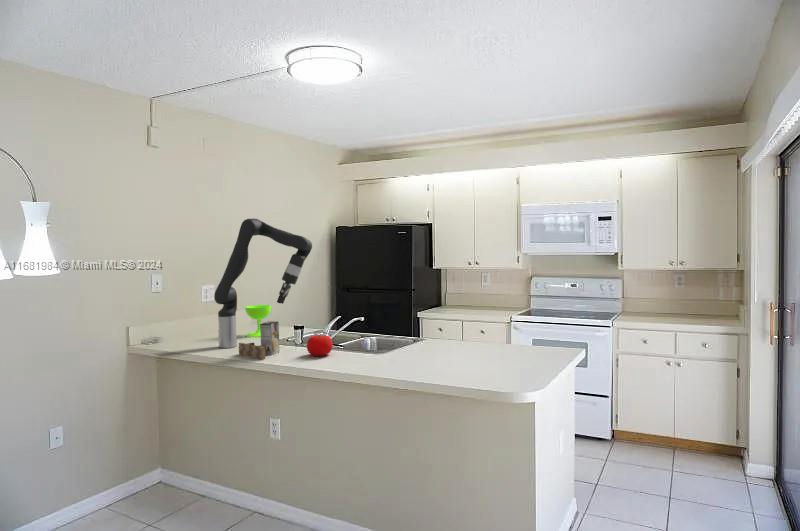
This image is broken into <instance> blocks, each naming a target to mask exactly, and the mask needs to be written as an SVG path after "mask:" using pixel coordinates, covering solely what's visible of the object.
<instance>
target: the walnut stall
mask: <svg viewBox="0 0 800 531" xmlns="http://www.w3.org/2000/svg"><path fill="white" fill-rule="evenodd" d="M238 355H239V356H245V357H249V358H253V359H257V358H258V359H257V360H262V359H265V360H266V357H267V355H266V345H261V344H260V345H255V342H248V343H245V342H238ZM265 356H266V357H265Z"/></svg>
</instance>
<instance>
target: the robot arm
mask: <svg viewBox="0 0 800 531" xmlns="http://www.w3.org/2000/svg"><path fill="white" fill-rule="evenodd" d="M253 236H255V237H256V236H263V237H265V238H266V237H267V238H270V239H271V240H273V241H274V242H276V243H278V244H280V245H283V246H286V247H291V248H294V249H297V250H296V252H295V253H293V254H292V255H291V257H290V260H289V262H288V263H287V265H286V268H285V270H284V273H283V275H282V277H281V280H282V281H284V282H283V283H282V285H281V288H280V290H279V292H278V295H279V296H278V297H277V299H276V300H277V301H276V302H277V303H278V304H284V303H285V301H286V298H287V297H288V295H289V293H290V290H291V287H292V285H294V286H295V285H296V284H297V281H298V279H299V276H300V275H301V272H302V271H301V270H302V268H303V265H304V263H305V260H306V259H307V258H308V257H309V255H310V253H311V251H312V248H313V243H312V241H311V240H310V239H308V238H306V237H305V236H302V235H298V234H294V233H291V232H288V231H286V230H282V229H279V228H276V227H274V226H272V225H269V224H268V223H265V222H264V221H262V220H261V219H258V218H246V219H244V220H243V221H242V223H241V225H240V227H239V230H238V235H237V239H236V241H235V244H234V247H233V249H232V252H231V254H230V257H229V259H228V262H227V265H226V268H225V270H224V272H223V275H222V277H221V279H220V281H219V284H218V285H217V287H216V289H215V291H214V296H213V298H214V301H215V303H216V304H218V305H223V306H222V308H221V309H219V310H218V313H217V319H218V347H219V348H221V349H230V348H236V347H237V346H238V342H237V341H238V340H237V317H236V315H237V314H236V312H237V310H238V293H237V290H236V289H235V287H233V284H234V283H235V281H237V280H238V278H239V277H240V276H241V275H242V273H243V272H244V271H245V270H246V269H245V268H246V267H247V266H246V265H247V263H248V261H249V245H250V242H251V240H252V238H253Z"/></svg>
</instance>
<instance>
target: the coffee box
mask: <svg viewBox="0 0 800 531" xmlns="http://www.w3.org/2000/svg"><path fill="white" fill-rule="evenodd" d="M279 329H280V326H279V320H278V321H275V320H273V321H266V322H261V324H260V333H261V337H260V345H266V356H273V354H274V355H275V353H276V354H277V352H278V353H279V351H280V350H281V349H280V331H279Z"/></svg>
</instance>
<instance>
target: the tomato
mask: <svg viewBox="0 0 800 531" xmlns="http://www.w3.org/2000/svg"><path fill="white" fill-rule="evenodd" d="M333 345H334V344H333V340H332V337H331V336H329V335H326V334H325V335H323V334H316V335H311V336H310V337H309V338H308V340H307V344H306V349H307V353H308V354H309V355H311V356H314V357H322V356H323V357H324V356H326V355H329V354H330V353H331V352H332V350H333Z"/></svg>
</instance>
